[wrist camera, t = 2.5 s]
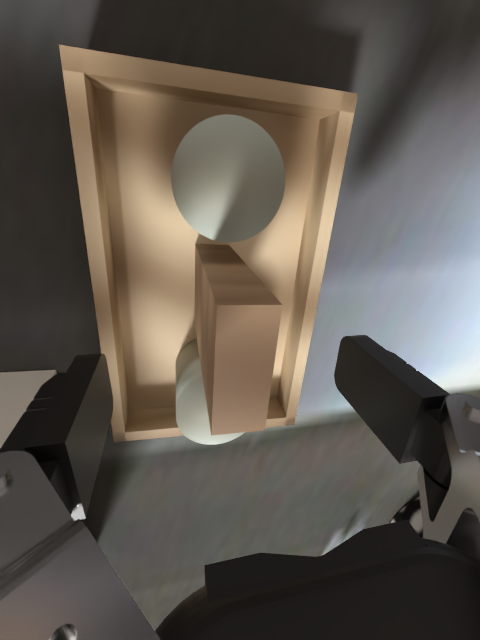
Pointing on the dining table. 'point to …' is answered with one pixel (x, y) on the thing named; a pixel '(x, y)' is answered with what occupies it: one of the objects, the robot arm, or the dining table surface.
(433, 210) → the dining table surface
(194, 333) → the tray
